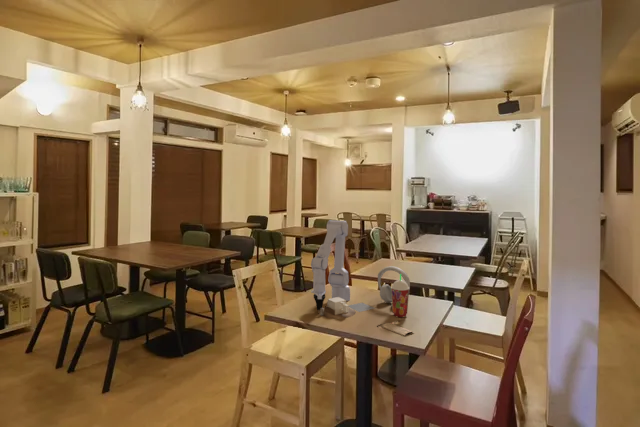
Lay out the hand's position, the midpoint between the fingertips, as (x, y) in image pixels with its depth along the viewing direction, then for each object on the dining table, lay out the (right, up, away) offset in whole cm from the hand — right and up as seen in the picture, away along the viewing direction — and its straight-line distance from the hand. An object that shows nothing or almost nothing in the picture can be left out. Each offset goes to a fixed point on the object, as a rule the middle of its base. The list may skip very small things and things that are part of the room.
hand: (319, 309), depth 186 cm
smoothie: (+39, -3, -1) cm, 39 cm away
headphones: (+39, -1, +16) cm, 42 cm away
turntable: (+9, -2, 0) cm, 9 cm away
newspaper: (+31, -4, -15) cm, 35 cm away
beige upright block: (+10, -1, -2) cm, 10 cm away
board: (+13, -2, +3) cm, 13 cm away
